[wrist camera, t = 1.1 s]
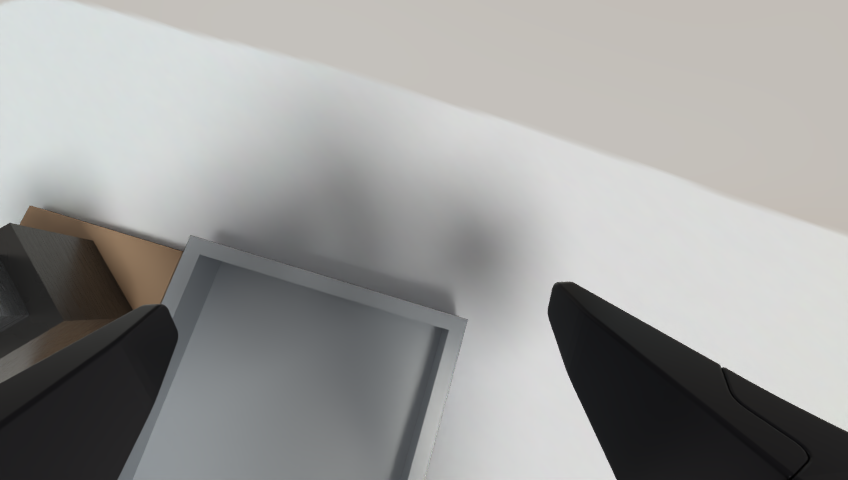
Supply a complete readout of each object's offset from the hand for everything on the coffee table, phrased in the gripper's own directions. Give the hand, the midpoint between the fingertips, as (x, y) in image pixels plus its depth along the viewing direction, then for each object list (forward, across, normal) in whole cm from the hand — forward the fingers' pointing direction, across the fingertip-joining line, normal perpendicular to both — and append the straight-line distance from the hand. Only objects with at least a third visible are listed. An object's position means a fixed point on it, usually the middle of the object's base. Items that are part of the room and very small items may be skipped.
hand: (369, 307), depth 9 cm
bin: (+7, +5, +13) cm, 16 cm away
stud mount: (+12, +17, +8) cm, 22 cm away
